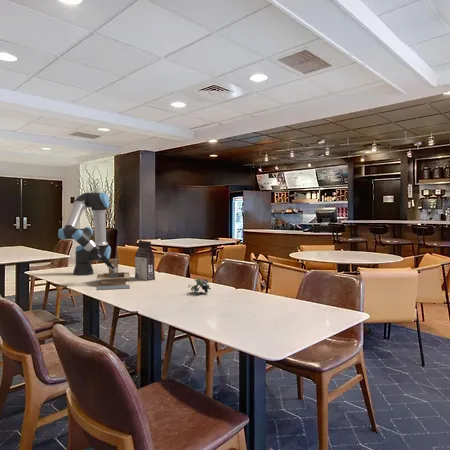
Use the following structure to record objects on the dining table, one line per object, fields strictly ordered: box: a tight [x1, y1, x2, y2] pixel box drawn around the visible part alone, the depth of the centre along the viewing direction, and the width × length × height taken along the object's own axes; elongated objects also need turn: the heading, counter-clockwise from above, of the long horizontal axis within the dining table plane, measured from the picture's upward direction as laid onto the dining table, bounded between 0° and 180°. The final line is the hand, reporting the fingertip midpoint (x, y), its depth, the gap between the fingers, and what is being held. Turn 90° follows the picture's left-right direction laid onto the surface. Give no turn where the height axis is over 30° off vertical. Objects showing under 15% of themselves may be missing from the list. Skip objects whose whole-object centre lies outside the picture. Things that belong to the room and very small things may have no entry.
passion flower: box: [187, 277, 212, 295], centre depth 224 cm, size 11×11×12 cm
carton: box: [96, 271, 131, 286], centre depth 259 cm, size 26×22×5 cm
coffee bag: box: [134, 240, 156, 282], centre depth 274 cm, size 16×9×28 cm, turn 46°
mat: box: [96, 284, 131, 291], centre depth 240 cm, size 11×20×1 cm, turn 107°
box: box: [108, 258, 119, 278], centre depth 258 cm, size 6×6×12 cm
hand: (117, 270), depth 259 cm, fingers closed on box, 6 cm apart
